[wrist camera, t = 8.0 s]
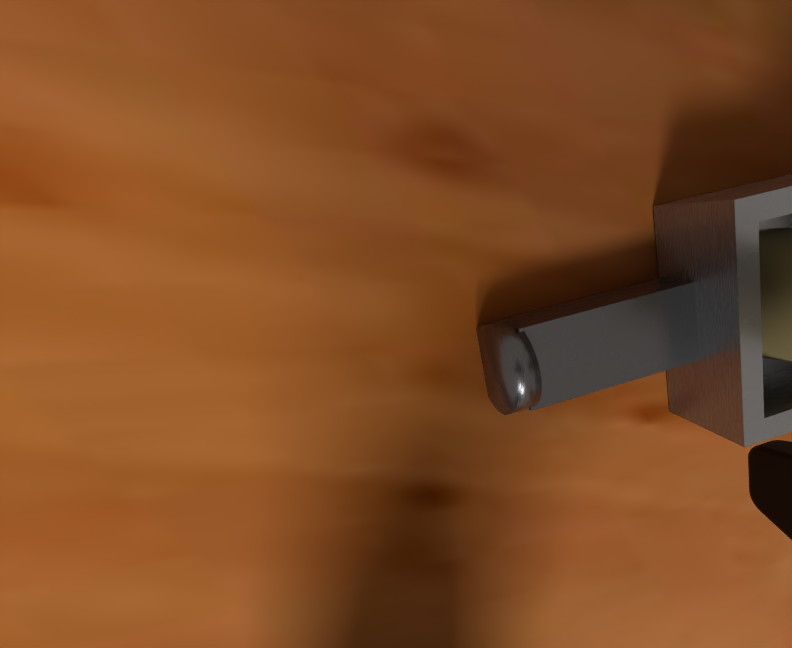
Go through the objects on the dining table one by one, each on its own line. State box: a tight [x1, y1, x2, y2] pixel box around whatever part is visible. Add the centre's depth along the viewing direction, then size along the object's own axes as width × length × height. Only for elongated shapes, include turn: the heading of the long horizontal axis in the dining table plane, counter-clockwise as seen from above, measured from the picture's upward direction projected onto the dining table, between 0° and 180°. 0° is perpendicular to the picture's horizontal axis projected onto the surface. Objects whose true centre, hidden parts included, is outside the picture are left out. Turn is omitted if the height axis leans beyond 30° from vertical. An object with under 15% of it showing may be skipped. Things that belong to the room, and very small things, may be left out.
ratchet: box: [477, 174, 792, 447], centre depth 20 cm, size 10×19×5 cm, turn 102°
